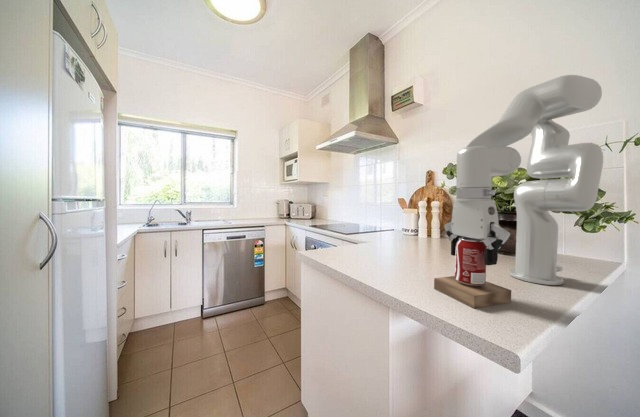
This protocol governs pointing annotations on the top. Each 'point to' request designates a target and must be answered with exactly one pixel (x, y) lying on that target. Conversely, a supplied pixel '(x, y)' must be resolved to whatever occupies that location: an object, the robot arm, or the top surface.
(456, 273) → the soda can
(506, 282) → the top surface
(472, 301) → the base block
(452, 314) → the top surface
